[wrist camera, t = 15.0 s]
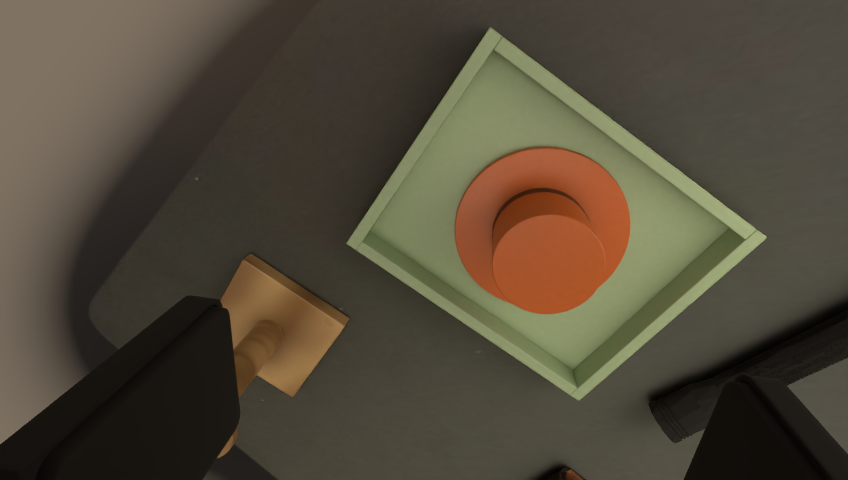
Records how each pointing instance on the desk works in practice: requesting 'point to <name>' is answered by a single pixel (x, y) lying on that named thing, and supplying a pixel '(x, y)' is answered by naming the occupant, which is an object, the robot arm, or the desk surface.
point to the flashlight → (781, 362)
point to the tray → (565, 128)
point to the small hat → (542, 228)
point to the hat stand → (276, 328)
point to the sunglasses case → (565, 475)
